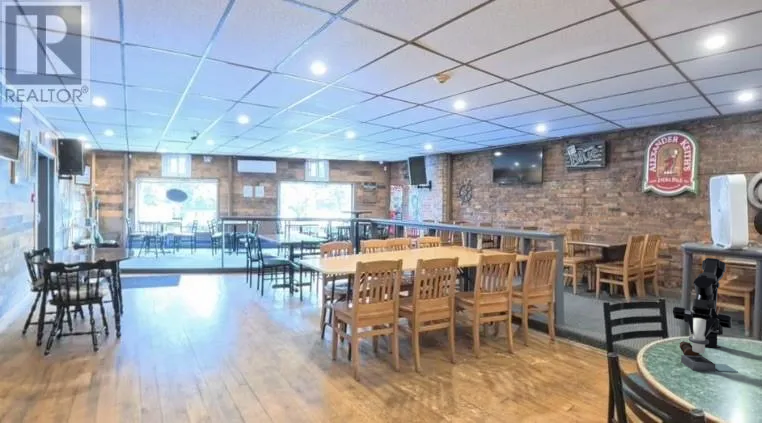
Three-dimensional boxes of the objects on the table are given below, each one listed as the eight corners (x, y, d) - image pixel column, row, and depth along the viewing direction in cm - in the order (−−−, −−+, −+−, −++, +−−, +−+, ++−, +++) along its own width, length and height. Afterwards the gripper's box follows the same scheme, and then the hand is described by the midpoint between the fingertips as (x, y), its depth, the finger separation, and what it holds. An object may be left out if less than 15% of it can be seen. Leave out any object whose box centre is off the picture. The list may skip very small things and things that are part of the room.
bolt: (685, 353, 187) (693, 364, 173) (674, 345, 189) (681, 356, 175) (694, 342, 186) (702, 353, 172) (682, 335, 187) (690, 345, 174)
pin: (684, 347, 171) (686, 316, 170) (701, 348, 170) (703, 317, 169) (694, 354, 164) (696, 321, 164) (712, 354, 164) (713, 322, 163)
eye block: (681, 362, 172) (681, 355, 172) (702, 363, 171) (702, 356, 171) (692, 370, 164) (693, 362, 164) (715, 371, 163) (715, 364, 163)
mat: (706, 364, 170) (706, 363, 170) (725, 365, 169) (725, 364, 169) (718, 371, 163) (718, 370, 163) (738, 372, 162) (738, 371, 162)
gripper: (674, 287, 175) (668, 318, 168) (732, 295, 162) (728, 329, 155) (677, 302, 181) (671, 333, 174) (733, 311, 168) (729, 344, 161)
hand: (698, 334), depth 166 cm, fingers closed on pin, 4 cm apart
